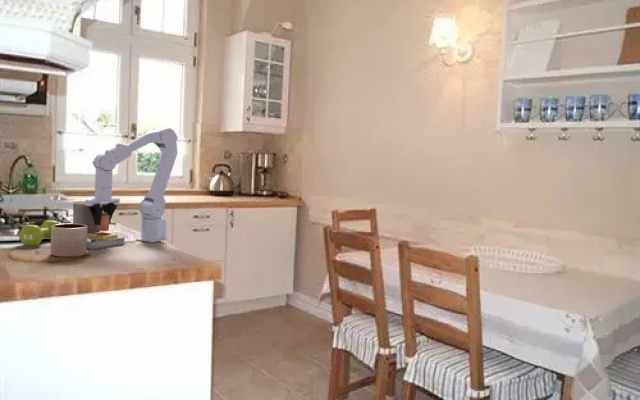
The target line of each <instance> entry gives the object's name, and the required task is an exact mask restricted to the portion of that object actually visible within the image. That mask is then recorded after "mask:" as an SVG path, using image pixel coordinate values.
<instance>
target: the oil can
mask: <svg viewBox="0 0 640 400" xmlns="http://www.w3.org/2000/svg"><path fill="white" fill-rule="evenodd" d="M109 218H110V215H108V214H107V213H106V212H102V216H101V224H100V225H97V230H99V231H100V232H108V231H109V230H110V224H109Z"/></svg>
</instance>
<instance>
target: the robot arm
mask: <svg viewBox="0 0 640 400" xmlns="http://www.w3.org/2000/svg"><path fill="white" fill-rule="evenodd" d="M178 138H179V137H178V135H177V133H176V132H175V130H174V129H172V128H171V127H165V128H163V127H154V128H153V129H149V130H147V131H146V132H144V133H143V134H142V135H140V136H138V137H137V138H134V139H133V140H132V141H130V142H129V143H124V142H123V143H120V142H118V143H116V144H115V146H114V147H113V148H111V149H109V150H108V149H107V150H105V151H104V153H99V154H97V155H96V156H95V158H94V159H93V161H92V165H93V166H94V168H95V174H94V175H95V176H94V177H95V178H94V181H95V182H94V197H93V198H92V199H88V200H87V199H86V200H84V201H85V206H88V208H89V210H90V211H91V213H92V216H93V220H94V224H95V225H100V224H101V216H102V212H106V213H107V214H108V215H110V218H109V225H110V224H111V220H112V217H113V215H114V213H115V211H116V210H117V207H118V205H119V204H120V203H121V202H120V201H121V199H120V197H119V198H118V197H114V198H113V197H112V195H113V193H112V192H113V170H114V169H116V168H115V167H116V166H117V165H118V164H120V163H122V162H124V161H125V160H127V159H129V158H131V157H132V153H133V152H135V151H137V150H138V149H141V148H143V147H145V146H147V145H149V144H151V143H152V144H154V145H155V146H156V147H157V148H158V149H159V151H160V153H161V157H160V159H159V163H158V165H157V168H156V171H155V174H154V177H153V180H152V182H151V185H150V189H149V191H148V192H147V193H146V194H145V195H144V197H143V199H142V200H141V201H140V203H139V205H138V210H139V213H140V214H141V228H140V229H141V230H140V237H138V238H135V240H136V241H140V242H147V243H156V242H161V241H165V240H166V241H167V240H168V238H167V221H166V219H165V218H164V217H163V216H164V214H165V211H166V209H165V205H166V199H165V197H164V195H165V192H166V190H167V186H168V183H169V180H170V177H171V174H172V170H173V168H174V165H175V161H176V158H177V156H178V145H177V141H178ZM97 203H98V204H97Z"/></svg>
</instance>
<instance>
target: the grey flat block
mask: <svg viewBox="0 0 640 400" xmlns="http://www.w3.org/2000/svg"><path fill="white" fill-rule="evenodd" d="M122 245H125V237H123V236H118V233H114V232H108V231H100V232H95V233H88V234H87V250H92V251H93V250H99V249H104V248H109V247H114V246H115V247H116V246H122Z"/></svg>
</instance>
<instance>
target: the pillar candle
mask: <svg viewBox="0 0 640 400" xmlns="http://www.w3.org/2000/svg"><path fill="white" fill-rule="evenodd" d="M86 200H89V199H86ZM97 204H98V203H97ZM72 207H73V209H72V223H73V224H83V225H87V234H88V233H95V232H101V231H99V230H97V225H95V224H94V220H93V216H92V213H91V211H90V210H89V208H88V206H85V200H84V201H83V200H81V201H80V200H79V201H73V202H72Z"/></svg>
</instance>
